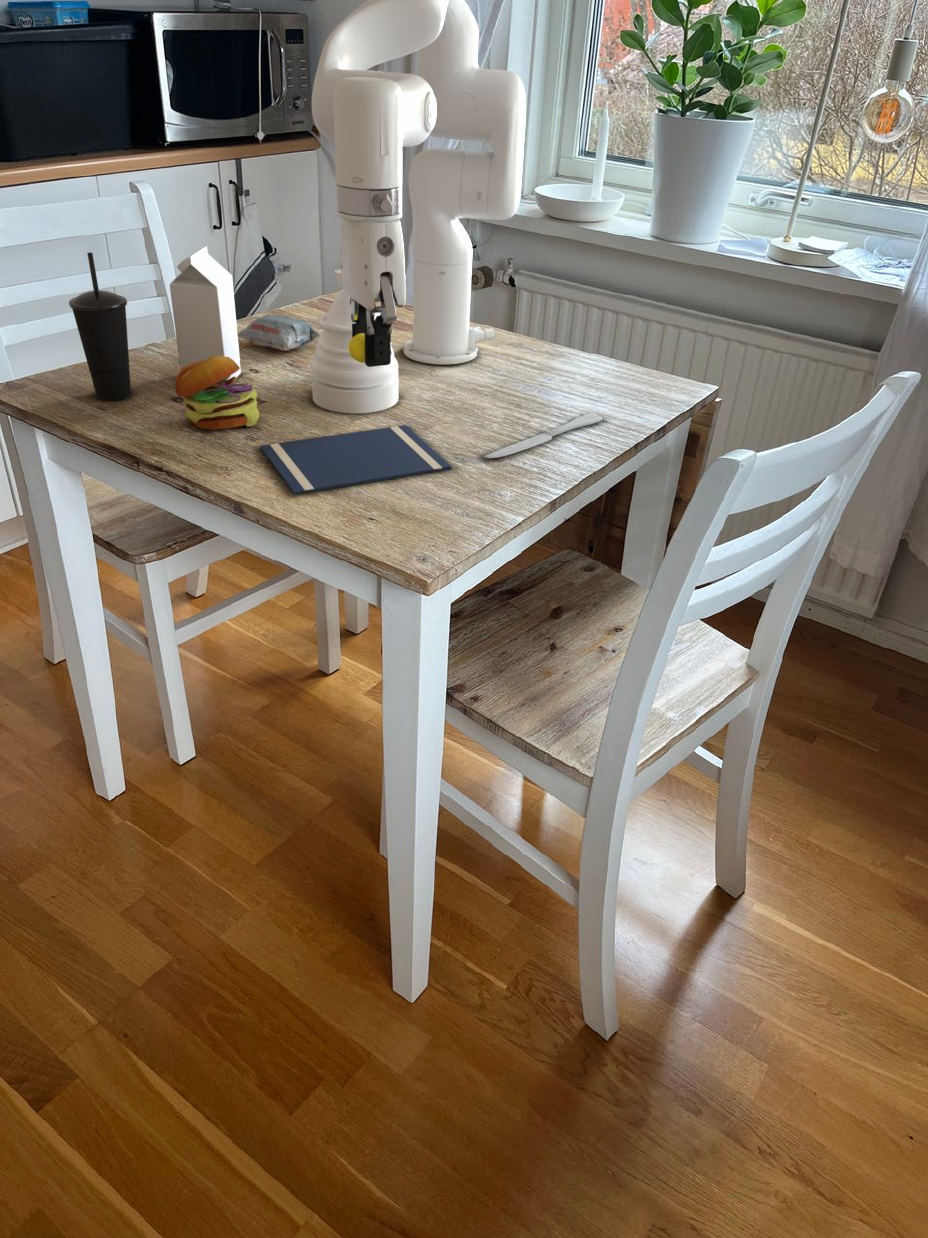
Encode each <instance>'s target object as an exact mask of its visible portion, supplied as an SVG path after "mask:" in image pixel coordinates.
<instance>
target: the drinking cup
mask: <svg viewBox="0 0 928 1238" xmlns="http://www.w3.org/2000/svg"><path fill="white" fill-rule="evenodd" d="M94 259H95V258H94V253H93V252H90V251H89V252H87V260H88V264H89V270H90V272H89V273H90V277H91V283H92V289H93V290H89V291H85V292H82V293H81V294H78V295H77V296H75V297H72V298H71V299H69V301H68V306H69V308H70V309H71V310H72V313H73V317H74V320H75V323H76V327H77V331H78V334H79V338H80V342H81V345H82V349H83V352H84V356H85V359H86V363H87V366H88V370H89V375H90V377H91V380H92V384H93V388H94V392H95V395H96V397H97V399H98V400H101V401H108V402H110V401H111V402H112V401H115V402H116V401H121V400H125V399H127V398H129V397H131V395H132V387H131V385H132V384H131V370H130V355H129V340H128V323H127V322H128V321H127V308H126V307H127V305H128V299H127V297H125V296H122V295H120V294H116V293H114V292H111V291H107V290H100V289H99V284H98V283H99V282H98V276H97V272H96V271H97V270H96V266H95V260H94Z"/></svg>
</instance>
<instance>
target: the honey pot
mask: <svg viewBox="0 0 928 1238" xmlns="http://www.w3.org/2000/svg"><path fill="white" fill-rule="evenodd" d="M334 278H335V280H336V281H337V283H338V284H339V285H341V286H342V279H341V268H340V269H339V268H338V269H335V270H334ZM378 315H381V313H375V318H374V321H375V319H376V316H378ZM316 322H317V325H318V326H319V327H320V328H321V332H320V336H319V337H318V338H317V340H316V345H317V347H316V348H315V350H314V357H313V359H311V363H310V364H311V365H310V366H311V367H310V368H311V388H312V390H311V391H312V392H311V393H312V401H313V402H314V404H315V405H316V406H318V407H320V408H322V409H324V410H328V411H332V412H336V413H343V414H367V413H368V414H369V413H377V412H380V411H385V410H387V409H389V408H391V407H393V406H395V405H396V404H397V403H398V402H399V363H398V360H397V359H396V357H395V353H394V349H393V347H392V346H391V351H392V355H391V363H390V364H389V365H383V366H374V367H368V366H367V365H366V364H365V363H361V362H358V361H356V360H355V359H353V358H352V357H351V355H350V353H349V350H348V348H349V342H350V340H351V339H352V324H354V323H353V322H352V321H351V304H350V297H349V296H348V295H347V294H346V293H345V292H344V290H343V287H342V288H341V289H340V290H339V292H338V293H337V294H336V296H335V297H334V299H333V301H332V303H331V304H330V307H329V310H328V311H326V312H323V313H321V314H319V316H317V318H316Z"/></svg>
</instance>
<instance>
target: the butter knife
mask: <svg viewBox="0 0 928 1238" xmlns="http://www.w3.org/2000/svg"><path fill="white" fill-rule="evenodd" d="M602 420H603V417H602V416H601V415H600V414H598V413H594V412H593V413H592V412H591V413H590V412H589V413H586V414H583V415H581V416H579V417H577V418H574V419H573V420H571V421H569V422H567V423H565V424H562V425H560V426H557V427H554V428H552V429H549V430H546V431H545V432H543V433H540V434H538V435H535V436H532V437H530V438H526V439H524V440H521V441H518V442H515V443H513V444H510V445H507V446H505V447H503V448H500V449H497V450H495V451H493V452H491V453H488V454H486V455H483V457H484V458H486V459H495V458H503V457H505V456H509V455H512V454H517V453H519V452H522V451H524V450H528V449H531V448H533V447H537V446H539V445H541V444H543V443H546V442H549V441H551V440H552V439H553V437H554V436H555V437H556V436H558V435H560V434H562V433H565V432H569V431H572V430H574V429H578V428H583V427H585V426H590V425H594V424H596V423H599V422H601V421H602Z"/></svg>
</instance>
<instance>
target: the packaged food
mask: <svg viewBox="0 0 928 1238" xmlns="http://www.w3.org/2000/svg"><path fill="white" fill-rule="evenodd" d="M237 334H238V338H241V339H243V340H245V341H246V343H248V344H250V345H254V346H259V347H263V348H267V349H270V350H271V349H272V350H275V351H284V352H286V351H290V350H295V349H298V348H301V347H303V346H306V345H308V344H310V343H312V342H313V341H314V340H315V339H318V338H319V337H320V335H321V333H319V332H318V330H316V329H315V328H314V327H313V326H312V325H311V324H309V323H308V322H307V321H306V320H305V321H304V320H301V319H297V318H293V317H289V316H284V315H281V314H265V315H263V316H260V317H258V318H256V319H255V320H253V321H252V322H251V323H249V324H248V325H247V326H246V327H245V328H243V329H242V330H240V331H239V332H237Z"/></svg>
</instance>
